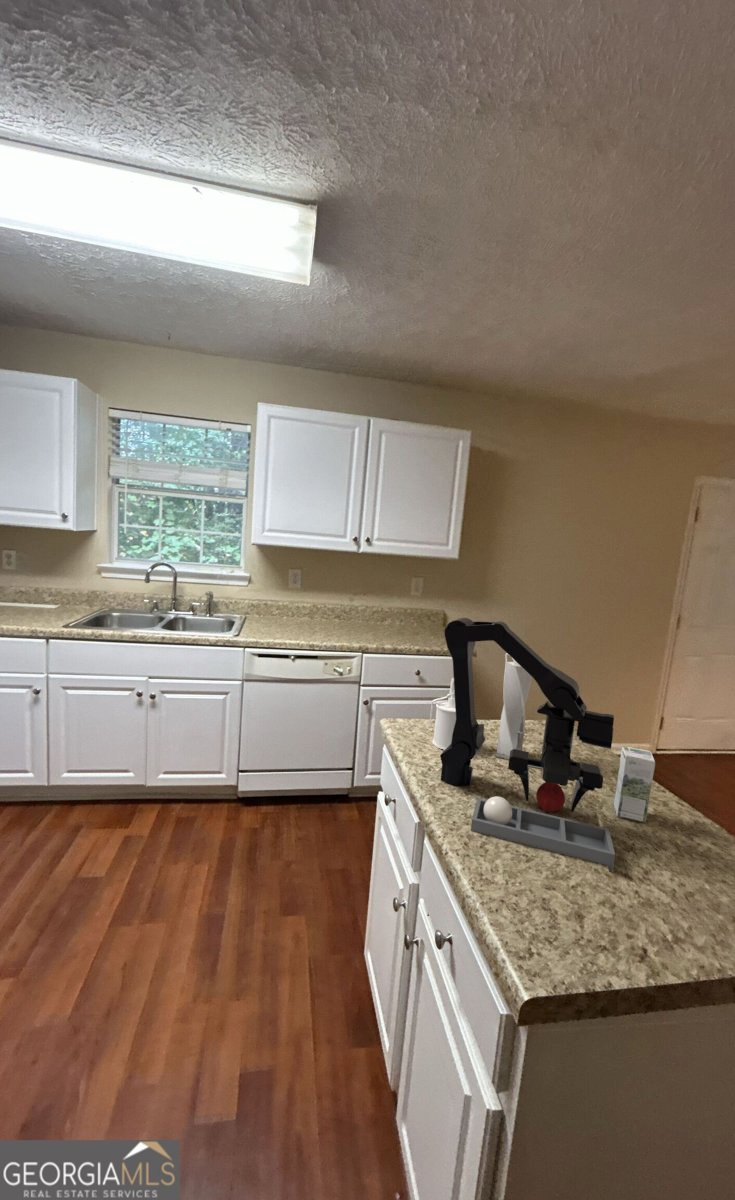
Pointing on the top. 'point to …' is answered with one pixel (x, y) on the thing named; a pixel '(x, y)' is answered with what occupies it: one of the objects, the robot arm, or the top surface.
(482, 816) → the egg tray
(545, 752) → the robot arm
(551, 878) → the top surface
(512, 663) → the skyscraper
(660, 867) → the top surface
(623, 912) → the top surface
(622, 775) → the syrup box
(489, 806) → the ceramic egg
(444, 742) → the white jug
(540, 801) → the onion
